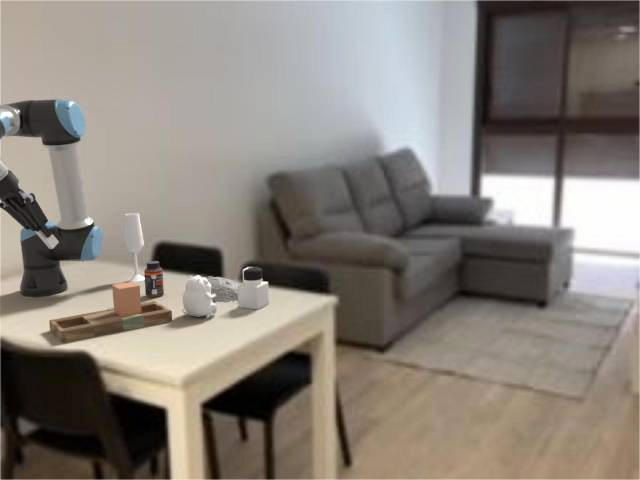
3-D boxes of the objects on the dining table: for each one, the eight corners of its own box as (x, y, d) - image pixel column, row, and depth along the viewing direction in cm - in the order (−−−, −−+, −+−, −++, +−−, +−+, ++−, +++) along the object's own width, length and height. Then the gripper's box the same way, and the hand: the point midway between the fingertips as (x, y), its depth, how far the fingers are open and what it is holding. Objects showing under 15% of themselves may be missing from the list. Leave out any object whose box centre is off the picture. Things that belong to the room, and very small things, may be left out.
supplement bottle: (159, 298, 225) (157, 264, 223) (142, 297, 226) (140, 263, 224) (167, 293, 231) (164, 260, 229) (150, 292, 232) (148, 259, 230)
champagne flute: (143, 281, 247) (139, 215, 243) (125, 281, 247) (120, 215, 243) (148, 277, 254) (144, 212, 249) (130, 277, 254) (125, 212, 249)
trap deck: (50, 330, 194) (49, 319, 193) (155, 310, 211) (154, 300, 211) (62, 342, 183) (61, 331, 183) (172, 320, 201) (171, 310, 200)
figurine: (187, 322, 199) (185, 282, 197) (178, 313, 208) (175, 275, 205) (220, 317, 204) (218, 277, 201) (209, 309, 212) (207, 271, 210)
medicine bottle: (269, 303, 216) (268, 266, 214) (257, 309, 210) (256, 271, 208) (249, 301, 219) (248, 264, 217) (237, 307, 213) (236, 269, 211)
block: (114, 311, 201) (112, 284, 199) (134, 307, 204) (132, 281, 202) (121, 316, 196) (119, 289, 194) (141, 312, 199) (139, 285, 198)
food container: (221, 305, 215) (221, 284, 214) (180, 294, 233) (180, 274, 233) (261, 300, 225) (261, 280, 224) (218, 290, 244) (219, 271, 243)
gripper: (-28, 190, 178) (31, 256, 190) (2, 183, 171) (61, 252, 184) (-9, 172, 183) (47, 238, 195) (21, 165, 176) (77, 234, 189)
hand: (54, 245), depth 189 cm, fingers closed
